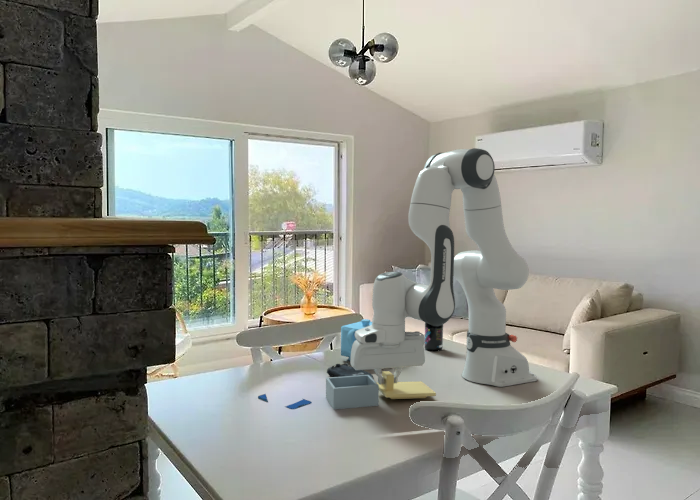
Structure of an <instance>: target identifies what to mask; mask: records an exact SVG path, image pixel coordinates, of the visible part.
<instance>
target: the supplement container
mask: <svg viewBox="0 0 700 500" xmlns="http://www.w3.org/2000/svg"><path fill="white" fill-rule="evenodd" d="M424 337H425V343H424V350H425V351H429V352H440V351H442V350H443V348H444V347H443V342H444V340H443V339H444V324H443V325H440V326H433V325H430V324H428V323H426V322H424Z"/></svg>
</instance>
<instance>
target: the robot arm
mask: <svg viewBox="0 0 700 500" xmlns="http://www.w3.org/2000/svg"><path fill="white" fill-rule="evenodd" d="M495 169H496V168H495V162H494V158H493V157H492V155H491V154H490V153H489V151H487V150H485V149H483V148H475V147H474V148H473V147H472V148H462V149H460V148H459V149H453V150H450V151H449V150H448V151H446V152H438V153H436V154H433V155H431V156H430V157H429V158H428V159H427V160H426V162H425V164H424V167H423V169H421V170H420V171H419V173H418V174H417V177H416V180H415V183H414V187H413V190H412V193H411V198H410V203H409V209H408V215H407V216H408V217H407V218H408V227H409V228H410V230H411V232H412V234H414V235H415V236H416V237H418V239H419V240H421V241H423V243H425V244H426V245H427V247H428V248H429V251H430V256H431V257H430V258H431V259H430V281H429V284H423V283H421V282H417V281H414V280H412V279H410V278H408V277H407V276H405V275H404V274H403V272H400V271H387V272H382V273H380V274H378V275H377V276H376V277H375V279H374V282H373V286H372V287H373V288H372V299H371V300H372V302H371V304H372V305H371V306H372V311H373V314H372V315H373V317H372V319H371V322H372V325H370V326H367V327H365V328H362V329H359V330H357V331H355V338H356V339H357V340H355V341H354V343H353V345H352V350H351V360H349V362H350V366H351V367H353V368H354V369H355V370H363V371H366V370H373V371H374V373H375V375H376V376H377V382H378V384H379V385H382V384H385V378H384V377H383V376H382V374H381V373H382V369H394V370H395V371H394V373H393V375H394V384H395V383H397V382H399V380H398V378H399V376H400V375H401V373H402V372H403V368H409V367H421V366H422V367H423V365H424V364H425V361H426V356H425V334H424V333H422V332H420V331H406V318H411V319H414V320H418V321H421V322H423V323H425V322H426V323H428V324H430V325H433V326H440V325H443V326H444V324H446V323H447V322H448V321H449V320H450V319H451V318H452V317H453V316H454V312H455V308H456V300H455V293H454V279H456V281H457V282H458V283H459V284H460V286H461V288H462V290H463V292H464V295H465V298H466V301H467V308H468V309H467V310H468V330H467V332H466V357H465V363H464V367H463V370H462V373H461V377H462V378H464V379H465V380H467V381H469V382H473V383H475V384H476V383H477V384H484V385H490V386H494V387H499V388H502V387H508V386H514V385H520V384H524V383H525V384H526V383H532V382H536V381H538V379H537V375H536V374H535V373H534V372H532V371H530V366H529V362H528V359H527V357H526V356H525V355H523V354H522V353H521V352H520V351H519V350H518V349H516V348H515V347H514V346H513V345H512V344H511V342H512V343H517V341H518V337H517V335H514V334H509V333H508V332H506V326H507V325H506V324H507V309H506V306H505V305H504V303H503V302H502V301H500V300H499V299H498V297H497V295H496V293H495V291H494V290H495V289H496V290H501V291H508V290H509V291H510V290H511V291H512V290H519V289H521V288H523V287H524V285H525V284H526V283H527V281H528V279H529V276H530V267H529V264H528V263H527V261H526V259H525V258H523V256H521V255H520V254H519V252H517V251H516V250H515V248H514V247H513V245H512V244H511V242H510V240H509V238H508V235H507V233H506V229H505V225H504V217H503V210H502V209H503V207H502V201H501V200H502V199H501V193H500V189H499V184H498V181H497V178H496V175H495ZM455 190H461V193H462V211H463V217H464V227H465V233H466V235H467V237H468V238H469V239H470V240H472V241H473V242H474V243H475V245H477V247H478V250H476V249H475V250H474V249H473V250H465V251H461V252H458V253H457V254H456V255H455V237H454V232H453V230H452V229H451V226H450V212H451V205H452V194H453V192H454V191H455Z"/></svg>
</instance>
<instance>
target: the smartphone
mask: <svg viewBox="0 0 700 500" xmlns="http://www.w3.org/2000/svg"><path fill="white" fill-rule="evenodd" d="M257 399H258V400H262V401H264V402H266V403H269V400H268V397H267V394H266V393H264V394H260V395H258V396H257ZM312 402H313V401H311V400H308V399H305V398H302V399H301V400H299V401H296V402H295V403H291V404H288V405H285V408H287V409H289V410H296V409H298V408H301V407H305V406H308V405H311V404H312Z"/></svg>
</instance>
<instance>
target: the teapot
mask: <svg viewBox="0 0 700 500" xmlns="http://www.w3.org/2000/svg"><path fill="white" fill-rule="evenodd" d="M370 325H372V320H371V319H369V318H364V319H361V321H357V322H356V321H355V322H353V323H349V324H345V325H342V326H341V327H340V356H343V357H345V358H347V361H350V360H351V350H352V345H353V343H354V341H355V340H357V339H356V338H355V331H357V330H359V329H362V328H365V327H367V326H370Z"/></svg>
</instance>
